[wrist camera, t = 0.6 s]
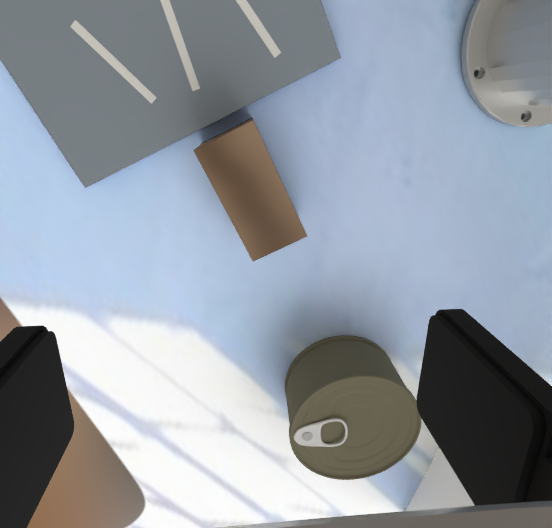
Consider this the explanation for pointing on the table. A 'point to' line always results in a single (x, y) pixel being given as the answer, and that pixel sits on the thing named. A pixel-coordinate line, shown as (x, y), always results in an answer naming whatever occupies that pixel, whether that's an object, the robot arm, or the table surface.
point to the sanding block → (250, 189)
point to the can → (349, 409)
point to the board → (152, 67)
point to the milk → (439, 488)
